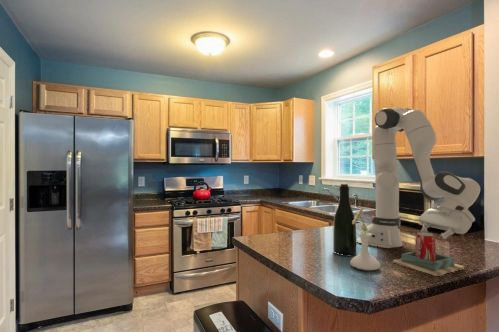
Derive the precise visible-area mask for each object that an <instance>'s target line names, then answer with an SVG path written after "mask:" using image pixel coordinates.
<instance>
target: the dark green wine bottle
mask: <svg viewBox="0 0 499 332" xmlns="http://www.w3.org/2000/svg"><path fill="white" fill-rule="evenodd" d="M338 190H339V201H338V206H337V209H336V211H335V214H334V218H333V241H332V242H333V243H332V244H333V245H332V247H333V249H332V250H333V253H334V252H336V253H339V254H343V255H353V256H355V255H357V252H358V251H357V248H358V246H357V244H358V243H357V222H356V223H355V224H352V223H353V222H352V221H353V220H354V219H355V218H354V217H355V216H356V215H355V213H354V211H353V209H352V206H351V203H350V202H351V201H350V187H349V183H341V184H340V186H339V189H338ZM336 253H335V254H336ZM354 254H355V255H354Z"/></svg>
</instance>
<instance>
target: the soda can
mask: <svg viewBox="0 0 499 332" xmlns="http://www.w3.org/2000/svg"><path fill="white" fill-rule="evenodd" d="M436 243H437V242H436V238H435V237H434V234H433V233H431V232H427V233H426V232H421V231H419V232H417V234H416V235H415V251H416V257H418V258H421V259H425V260H428V261H432V262H434V261H435V260H436V250H437V249H436V248H437V246H436Z"/></svg>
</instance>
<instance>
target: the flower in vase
mask: <svg viewBox="0 0 499 332" xmlns="http://www.w3.org/2000/svg"><path fill="white" fill-rule="evenodd" d="M363 211H364V207H363V206H362V207H360V208H359V210H357V212H356V215H354V216H355V217H354V218H355V219H354V220H353V221H352V222H353V223H352V224H355V223H356V224H357V222H358V220H359V219H360V220H361V222H362V225H361V229H362V230H363V231H367V230H368V229H367V226H366V225H365V222H364V220H363V218H362V213H363ZM362 230H361V232H362V233H361V232H358V235H359V237H360V238H361V241H362V244H361V251H360V252H359V253H358V254H356V255H354V256H353V257H352V258H351V259H350V263H349V264H350V265H351V266H352V267H353V268H355V267H356V268H355V269H358V270H361V269H362V270H363V271H375V270H378V269H380V267H381V262H379V260H378V259H377V258H375V257H374V256H373V255H372V254H371V253H370V252H369V245H368V241H369V238H370V236H371V235H372V234H370V233H363V231H362Z"/></svg>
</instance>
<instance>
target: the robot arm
mask: <svg viewBox="0 0 499 332" xmlns="http://www.w3.org/2000/svg"><path fill="white" fill-rule="evenodd" d="M374 123H375V127H374V129H373V133H372V147H373V150H372V151H373V162H374V174H375V175H374V176H375V183H374V187H375V216H374V215H372V216H371V223H370V224H368V225H367V226H366V227H367V229H368V230H367V231H363V229H362V230H361V232H360V233H362V231H363V233H370V234H372V235H371V236H370V238H369V241H368V246H370V245H371V247H377V246H378V248H385V249H391V248H400V247H403V246H404V245H403V242H402V238H401V237H402V236H401V231H400V229H401V219H400V210H399V209H400V179H399V177H398V158H397V154H398V153H397V144H396V143H397V141H396V134H397V132H400V133H401V132H404V134H405V136H406V138H407V140H408V143H409V146H410V149H411V153H412V157H413V161H414V162H413V163H414V166H415V169H416V171H417V174H418V178H419V181H420V188H419V189H420V192H421V195H422V196H423V197H424V198H425V199H427V200H428V201H433V202H434V201H435V202H436V201H440V200H442V199H443V198H444V200H443V201H442V202H441V204H440V205H439V206H438V208H437V207H431V208H428V209H427V210H425V211H424V212H423V213H422V214H421V215H420V216H419V217H418V221H419V223H420V224H421V225H422V228H421V229H420V232H426V233H429V232H428V229H429V228H434V229H439V230H443V231H444V232H441V233H440V235H439V237H440V239H442V240H447V238H448V237H451V236H453V235H454V234H459V235H464V234H466V233H467V232H468V231H469V230H470V228H471V227H472V224H473V223H474V222H475V221H476V218H475V216H474V215H473V214H472V212H470V210H469V208H470V207H471V206H472V205H474V203H475V202H476V200H477V199H478V198H479V195H480V194H481V193H480V192H481V186H480V184H479V183H478V182H477V181H475V180H474V179H472V178H470V177H460V176H457V175H455V174H454V173H452V172H450V171H447V170H446V171H445V170H443V171H440V172H438V173H436V174H435V171H434V168H433V167H432V163H431V155H432V151H433V148H434V147H435V145H436V142H437V137H436V132H435V129H434V128H433V125H432V124H431V122H430V120H429V119H428V117H427V116H426V115H425V113H424V112H423V111H422V110H420V109H411V108H407V107H406V108H405V107H398V106H397V107H396V106H395V107H383V108H380V109H378V111H377V112H376V114H375V116H374ZM357 242H358V243H357ZM356 243H357V244H359V243H361V244H360V245H362V241H361V238H360V236H359V237H356Z"/></svg>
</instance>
